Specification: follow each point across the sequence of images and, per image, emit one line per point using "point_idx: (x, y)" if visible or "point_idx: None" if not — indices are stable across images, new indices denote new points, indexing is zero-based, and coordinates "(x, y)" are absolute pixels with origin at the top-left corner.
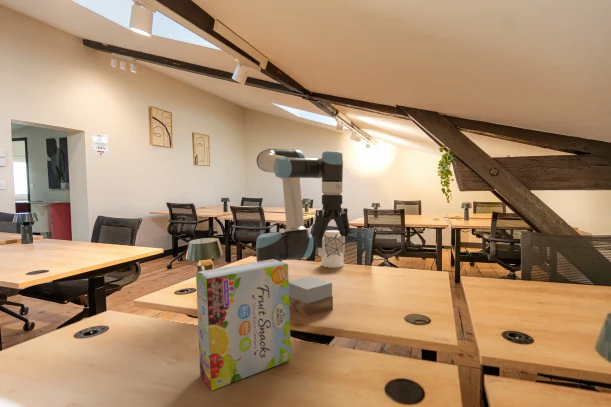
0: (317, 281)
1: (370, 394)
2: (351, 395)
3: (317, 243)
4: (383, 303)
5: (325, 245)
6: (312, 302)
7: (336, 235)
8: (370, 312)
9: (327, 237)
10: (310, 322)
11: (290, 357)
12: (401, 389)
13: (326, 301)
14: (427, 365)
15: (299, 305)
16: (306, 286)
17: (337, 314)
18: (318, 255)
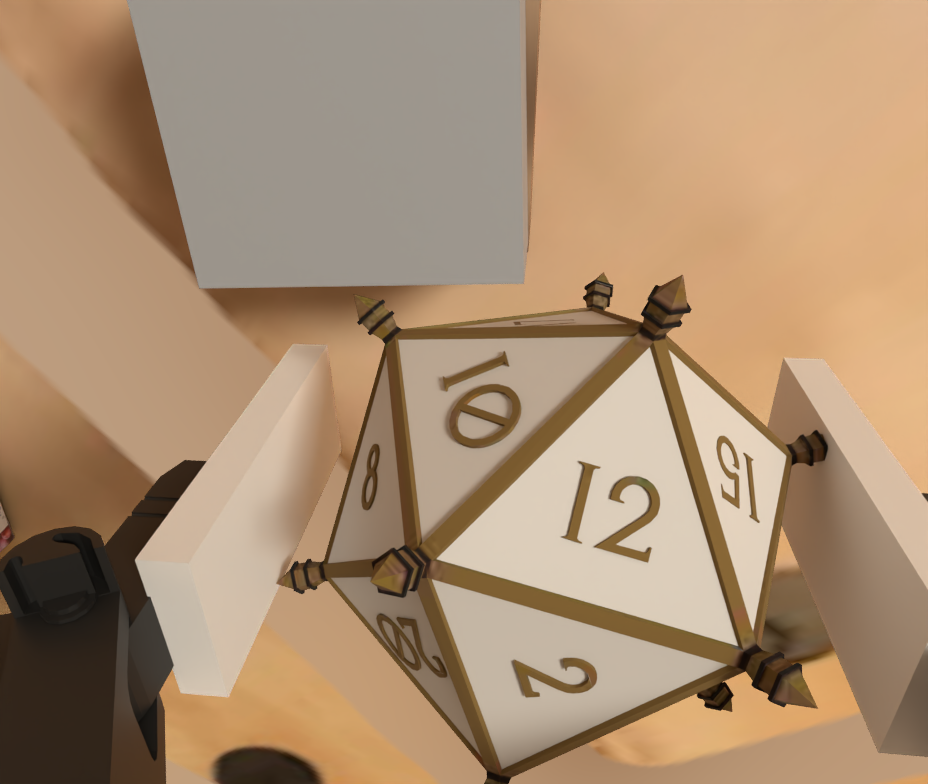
0: (431, 143)
1: (175, 744)
2: None
3: (135, 529)
4: (911, 379)
5: (307, 579)
6: None
7: (759, 679)
8: None
9: (423, 617)
10: (259, 306)
11: (3, 546)
12: (263, 775)
13: None
14: (423, 773)
15: None
16: (237, 212)
17: (483, 318)
18: (292, 354)
